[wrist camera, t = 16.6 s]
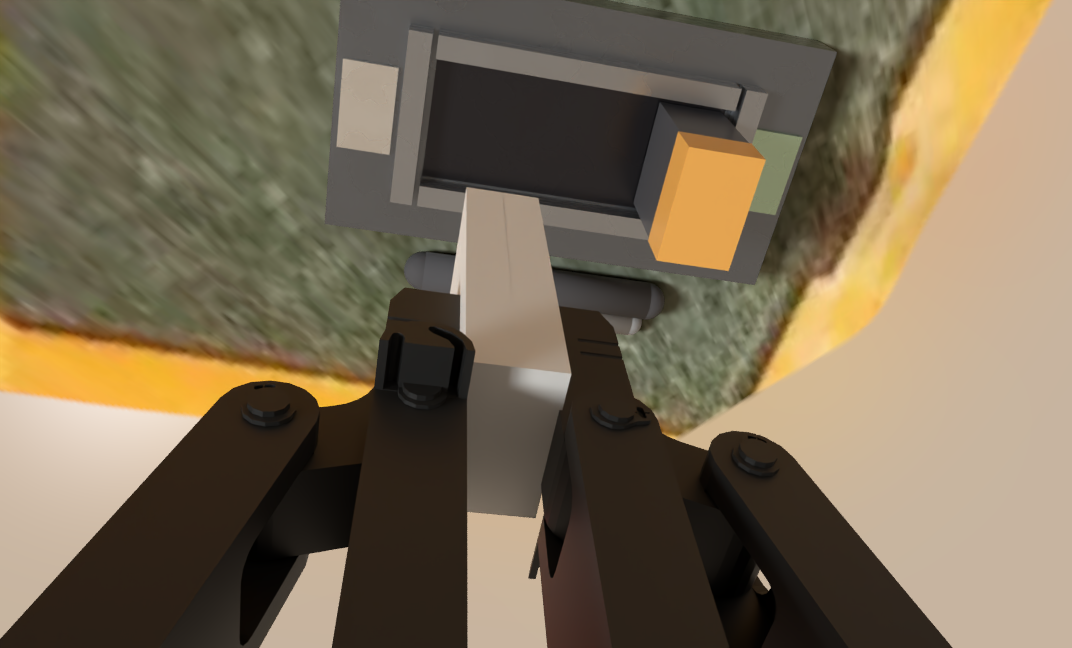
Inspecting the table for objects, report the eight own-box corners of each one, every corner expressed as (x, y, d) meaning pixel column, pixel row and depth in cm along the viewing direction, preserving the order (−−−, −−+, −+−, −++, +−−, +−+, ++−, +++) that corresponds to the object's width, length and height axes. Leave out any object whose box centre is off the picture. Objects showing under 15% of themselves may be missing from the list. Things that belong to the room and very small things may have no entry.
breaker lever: (631, 202, 41) (656, 260, 36) (657, 101, 39) (689, 147, 33) (694, 212, 42) (728, 271, 36) (723, 112, 39) (765, 159, 34)
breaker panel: (331, 204, 43) (321, 234, 40) (350, -49, 37) (339, -38, 34) (741, 264, 46) (761, 295, 43) (818, 40, 40) (847, 58, 37)
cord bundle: (400, 297, 46) (398, 315, 44) (407, 242, 44) (405, 259, 42) (649, 330, 48) (656, 348, 46) (664, 278, 46) (671, 296, 45)
